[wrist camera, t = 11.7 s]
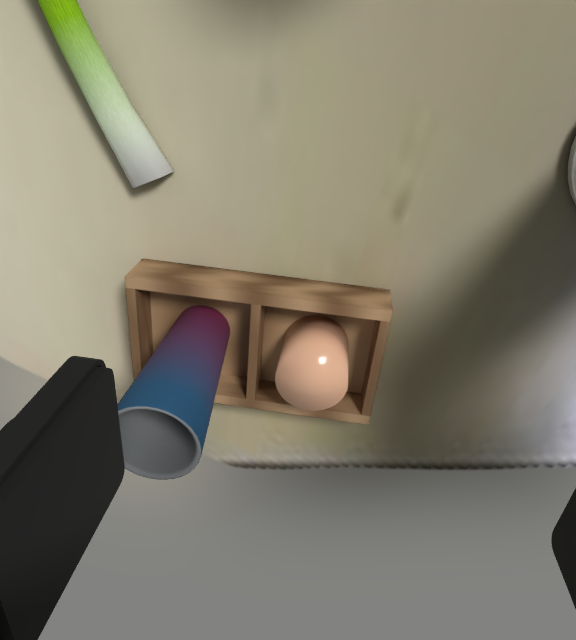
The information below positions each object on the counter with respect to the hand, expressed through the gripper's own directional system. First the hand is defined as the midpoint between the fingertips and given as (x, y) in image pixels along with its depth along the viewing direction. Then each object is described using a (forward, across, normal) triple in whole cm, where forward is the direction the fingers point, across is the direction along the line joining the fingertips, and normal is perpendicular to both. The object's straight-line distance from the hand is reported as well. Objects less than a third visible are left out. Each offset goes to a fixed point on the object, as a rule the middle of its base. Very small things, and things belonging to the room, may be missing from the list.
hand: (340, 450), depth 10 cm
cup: (+32, +11, +17) cm, 38 cm away
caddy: (+32, +6, +17) cm, 37 cm away
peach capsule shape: (+31, +1, +17) cm, 36 cm away
